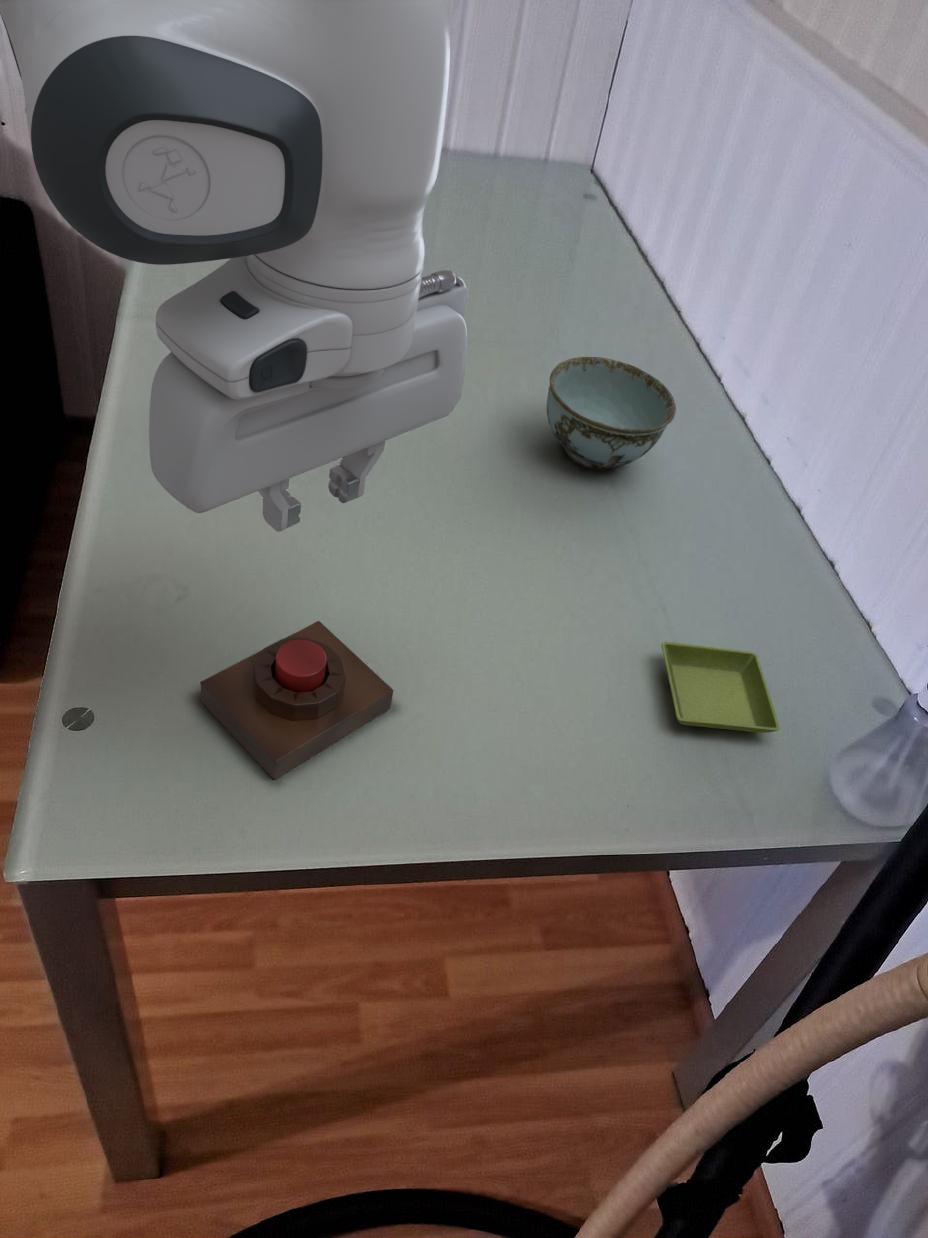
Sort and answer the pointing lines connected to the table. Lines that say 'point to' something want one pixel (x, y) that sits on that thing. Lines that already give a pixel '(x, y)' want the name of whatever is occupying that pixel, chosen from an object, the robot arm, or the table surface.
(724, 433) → the table surface
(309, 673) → the button
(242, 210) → the robot arm
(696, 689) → the green square tray
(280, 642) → the button block
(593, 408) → the bowl
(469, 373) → the table surface
